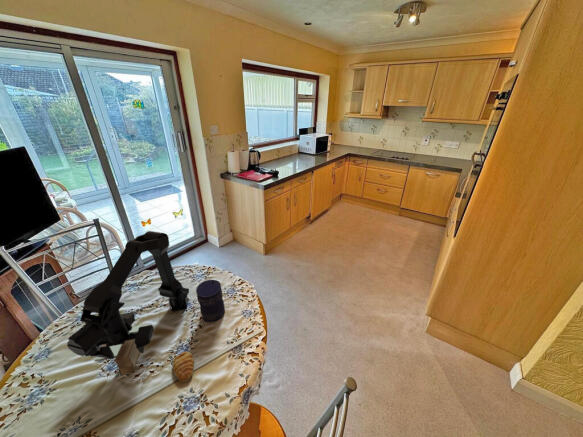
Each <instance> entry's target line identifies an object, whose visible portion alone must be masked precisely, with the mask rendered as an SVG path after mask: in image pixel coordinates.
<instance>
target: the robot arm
mask: <svg viewBox="0 0 583 437" xmlns="http://www.w3.org/2000/svg"><path fill="white" fill-rule="evenodd" d="M124 246H125V248H124V249H123V250H122V253H121V254H120V256H119V258H118V259H117V260H116V262H115V264H114V265H113V267H112V269H111V270H110V271H109V272H108V274H107V276H106V278H105V279H104V280H103V282H101V283H99V284H98V285H97V286H96V287H94V288H93V289H92V290H91V292H89V294H88V295H87V296H86V297H85V300H84V301H83V309H82V312H81V316H80V319H79V322H82V323H84V325H83V326H82V327H80V328H79V329H78V330H76V332H74V333H73V334H72V335H70V336H68V338H67V340H68V341H67V342H66V344H67V345H66V347H67V348H68V349H69V350H70V351H71V352H72V353H73V354H76V355H77V356H80V357H89V356H90V357H94V358H96V357H102V358H105V359H107V360H114V358H115V357H114V354H113V352H112V350H111V348H110V346H115V345H120V344H124V343H125V341H128V340H133V339H135V345H137V346H136V348H137V349H138V350H139V352H140V354H144V351H145V347H146V346H147V345H149V344H150V343H151V341H152V337H153V334H154V331H155V327H154V326H153V325H152V324H148V326H142V327H139V329H138V331H136V332H130V333H129V331H130V330H132V327H133V326H132V325H133V324H134V323H135V322H136V317H135V312H134V311H132V312H131V311H130V312H125V313H121V312H120V309H121V308H122V307H124V306H125V304H126V303H125V302H123V301H120V300H121V299H122V296H123V291H122V289H123V285H124V284H125V282H126V280H127V279H128V277H129V275H130V274H131V272H132V270H133V269H134V267H135V265H136V264H137V261H138V260H139V259H140V257H141V255H142V254H143V253H145V252H149V254H151V255H152V256H153V260H154V263H155V265H156V266H155V267H156V268H157V271H158V275H159V278H160V281H161V284H160V286H159V287H158V288H157V290H158V292H159V296H160V297H164V298H168V304H169V306H170V308H171V309H170V311H171V312H178V311H183V310H187V309H188V305H189V297H188V295H189V293H190V289H189V288H186V287H184V286H183V284H182V283H181V282H180V281H179V279H177V278H176V276H175V273H174V270H173V267H172V263H171V261H170V257H169V254H168V249H169V247H170V239H169V236H168V234H167V233H165V232H159V231H154V230H153V231H152V230H148V231H146V232H145V233H144V234H141V235H137V236H135V238H134V239H131V240H129V241H127V242H126V243H125V245H124ZM92 313H95V314H97V315H94V314H92Z"/></svg>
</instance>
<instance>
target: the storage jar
mask: <svg viewBox="0 0 583 437" xmlns="http://www.w3.org/2000/svg"><path fill="white" fill-rule="evenodd" d="M222 289H223V288H222V285H221V283H220V281H218V280H217V279H207V280H204V281H202V282H200V283H199V284H198V285H197V287H196V289H195V292H196V298H197V302H198V304H199V309H200V314H201V318H202V320H203V321H204V322H206V323H208V324H209V323H216V322H219V321H220V320H222V318H224V316H225V313H226V310H225V308H226V307H225V302H224V299H223V290H222Z"/></svg>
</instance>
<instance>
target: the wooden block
mask: <svg viewBox="0 0 583 437" xmlns="http://www.w3.org/2000/svg"><path fill="white" fill-rule="evenodd" d="M136 346H137V345H135V339H133V340H128V341H125V343H124V344H122V345H121V347H120V349H119V352H118V354H117V356H116V357H115V359H114V362H115V364H116V366H117V367H118V369H119V371H120V373H121V374H122V375H127V374H128V375H129V374H132V373H133V374H134V373H135V371H136V368H137V364H138V362H139V359H140V356H141V353H140V352H139V350H138V349H137V348H136Z"/></svg>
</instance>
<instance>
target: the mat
mask: <svg viewBox="0 0 583 437" xmlns="http://www.w3.org/2000/svg"><path fill="white" fill-rule="evenodd" d="M148 325H149V323H146V324H139V325H134V326H132V330H130V331H129V333H130V332H136V331H138V329H139V327H142V326H148ZM121 345H122V344H120V345H115V346H110V348H111V350H112V352H113V354H114V358H116V356H117V354H118V352H119V349H120V347H121ZM104 359H106V358H102V357H95V358H94V361H99V360H104Z"/></svg>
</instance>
